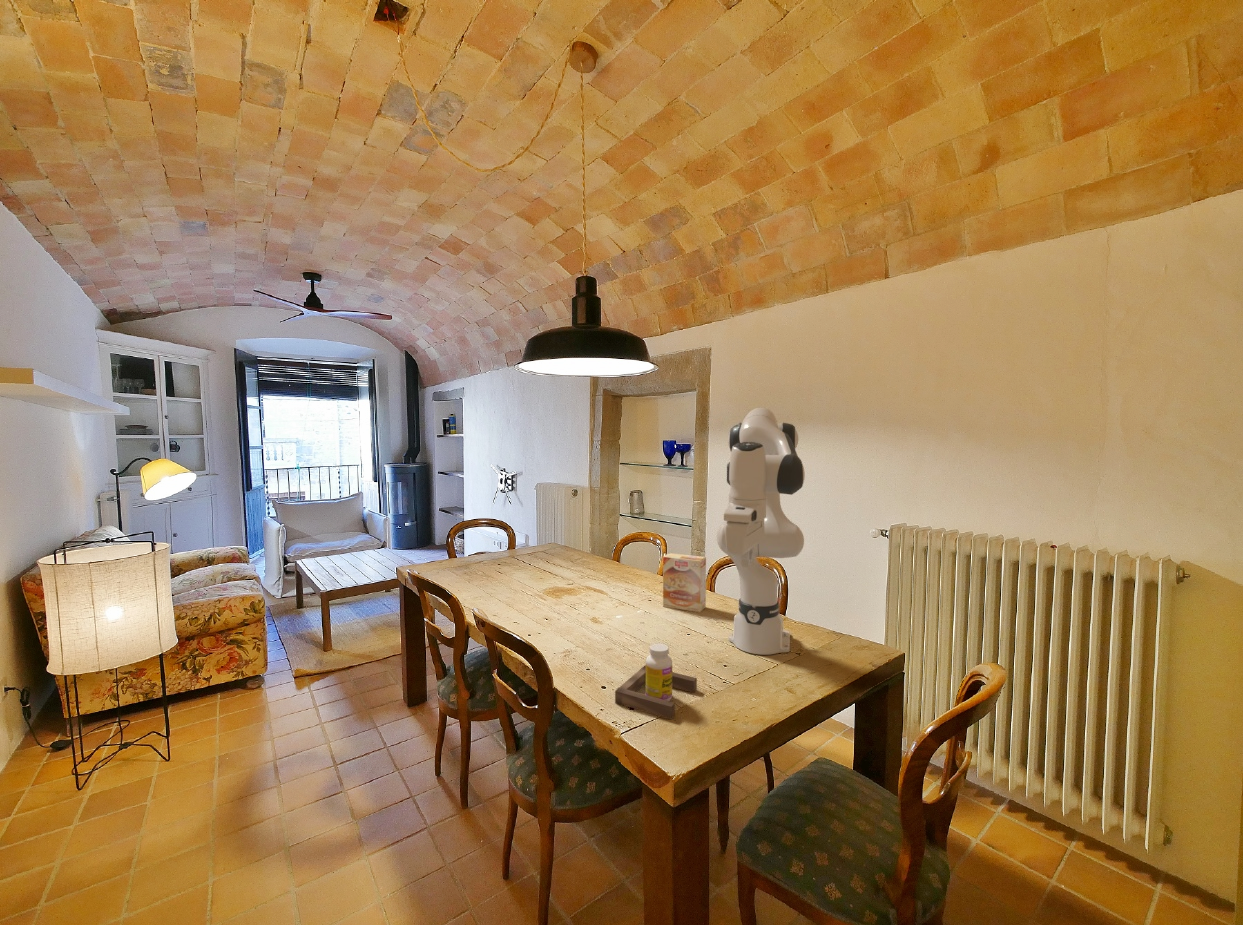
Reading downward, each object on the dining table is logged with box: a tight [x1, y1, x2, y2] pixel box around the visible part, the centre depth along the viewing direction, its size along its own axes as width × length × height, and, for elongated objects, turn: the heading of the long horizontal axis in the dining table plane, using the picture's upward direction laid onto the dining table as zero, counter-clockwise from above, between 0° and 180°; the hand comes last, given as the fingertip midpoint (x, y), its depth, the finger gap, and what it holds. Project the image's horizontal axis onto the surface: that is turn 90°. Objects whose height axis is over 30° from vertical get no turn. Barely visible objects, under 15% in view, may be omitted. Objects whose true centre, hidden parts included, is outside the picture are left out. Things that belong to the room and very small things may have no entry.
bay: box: [614, 664, 698, 720], centre depth 130 cm, size 16×15×3 cm
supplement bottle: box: [645, 643, 673, 701], centre depth 129 cm, size 7×7×13 cm
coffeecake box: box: [662, 552, 707, 613], centre depth 196 cm, size 15×7×20 cm, turn 64°
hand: (746, 565), depth 126 cm, fingers closed
